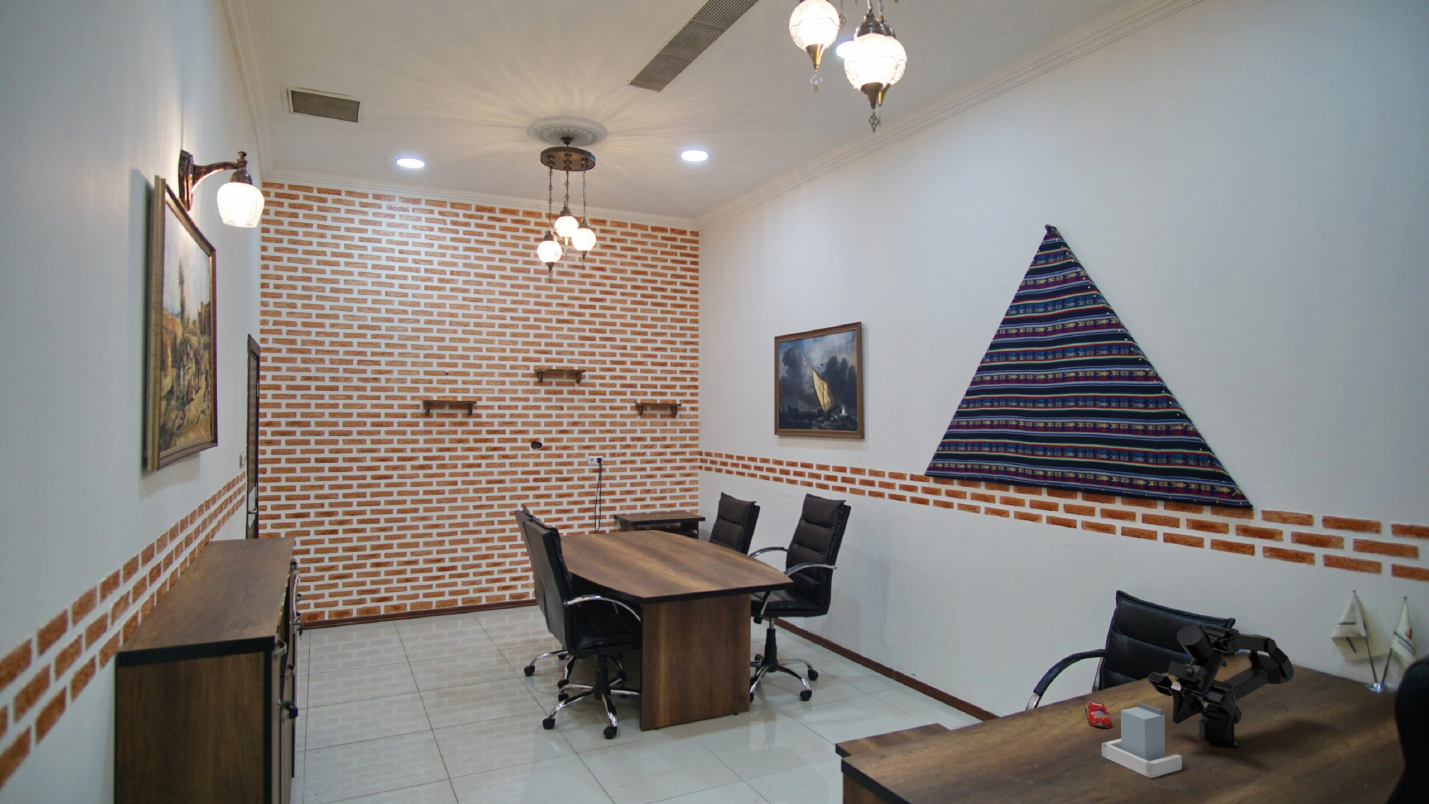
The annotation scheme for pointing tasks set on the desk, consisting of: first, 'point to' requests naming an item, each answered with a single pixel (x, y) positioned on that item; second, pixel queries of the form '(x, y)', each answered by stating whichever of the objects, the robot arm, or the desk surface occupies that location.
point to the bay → (1141, 760)
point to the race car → (1097, 714)
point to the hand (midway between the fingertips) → (1174, 722)
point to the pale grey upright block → (1143, 732)
